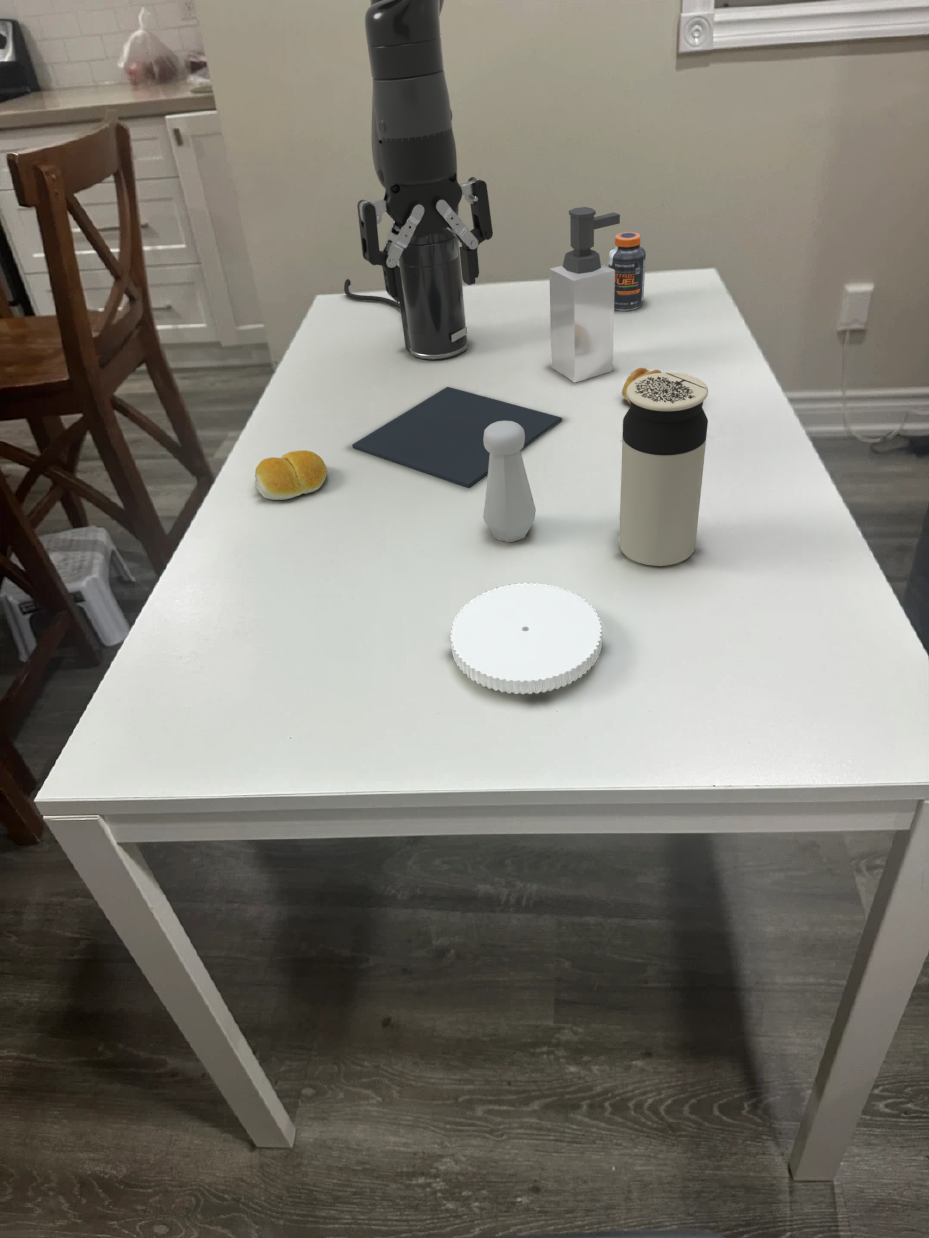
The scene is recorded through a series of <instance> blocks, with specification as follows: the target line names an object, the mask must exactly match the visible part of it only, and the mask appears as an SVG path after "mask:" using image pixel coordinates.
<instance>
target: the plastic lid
mask: <svg viewBox="0 0 929 1238" xmlns="http://www.w3.org/2000/svg"><path fill="white" fill-rule="evenodd" d="M593 607H594V606H593V605H592V604H590V602H589V601H586V599H585V598H583V597H581V595H577V593H576V592H572V590H570V589H569V590H567V589H566V588H561V586H555V585H553V584H551V585H549V584H548V583H545V584H543V583H542V582H541V583H540V582H539V583H536V582H533V583H530V582H526V583H524V582H520V583H514V584H507V585H501V587H498V586H497V587H496V588H495V589H493V588H492V589H490V590H489V591H485V592H484V593H480V594H479V595H478V596H474V598H473V599H470V600H469V602H466V603H465V605H463V606H462V607H461V609H459V611H458V613H456V614H455V617H454V618H453V621H452V622H451V626H450V630H449V633H450V634H449V637H450V639H449V640H450V647H451V653H452V658H453V659H454V662H455V663H456V666H457V667H459V670H460V671H462V674H464V675H466V677H467V678H468V679H469V678H470V679H471V681H473V682H476V684H478V685H479V684H481V686H482V687H487V689H489V690H491V689H493V691H495V692H497V691H500V693H505V692H506V693H507V694H511V693H513V694H514V695H518V694H521V695H525V694H527V695H532V694H533V693H535V694H539V693H540V692H541V693H546V692H548V691H549V692H552V691H553V690H554V689H555V690H558V689H560V687H562V688H564V687H566V685H570V684H572V682H577V681H578V679H581V678H582V677H583V675H586V674H588V673H587V671H590V670H591V667H594V666H595V663H596V662H597V660H598V658H600V654H601V649H602V646H603V645H602V644H603V625H602V621H601V618H600V616H599V614H598V612H597V611H596V609H595V608H593Z"/></svg>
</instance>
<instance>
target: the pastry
mask: <svg viewBox="0 0 929 1238" xmlns="http://www.w3.org/2000/svg"><path fill="white" fill-rule="evenodd" d="M655 373H663V372H662V371H661V370H659V369H653V370H649V369H647V367H639V368H636V369H634V370H632V372H631V373H630V375H628V377H627V378H626V380H625V382H624V384H623V387H622V389H621V395H622V397H624V399H625V400H626V402H628V404H630V400H629V398H628V397H627V393H626V391H627V387H628V386H629V384H630V383H631V382H633V381H634V380H636V379H638V378H640V377H642V376H645V375H649V374H655Z"/></svg>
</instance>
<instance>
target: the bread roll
mask: <svg viewBox="0 0 929 1238" xmlns="http://www.w3.org/2000/svg"><path fill="white" fill-rule="evenodd" d="M254 471H255V473H254V478H255V481H254V484H255V487H256V489H257V491H258V493H259V494H260V495H261V496H262V497H263V498H265V499H268V500H272V501H273V500H276V501H279V500H281V501H283V500H284V501H285V500H289V499H293V498H296V497H299V496H301V495H302V494H303V495H304V494H305V495H306V494H311V493H313V492H316V491H317V490H319V489H320V488H321V487H322V486H323V484H324V482H325V480H326V478H327V475H328V467H327V465H326V462H325V461H324V460H323V458H322V457H321V456H320V455H318V454H317V453H316V452H314V451H310V450H295V451H294V450H293V451H289V452H287V453H285V454H284V455H282V456H281V457H267V458H264V459H263V460H261V461H259V463H258V464H257V465H256V467H255V470H254Z"/></svg>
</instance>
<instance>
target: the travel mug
mask: <svg viewBox="0 0 929 1238" xmlns="http://www.w3.org/2000/svg"><path fill="white" fill-rule="evenodd" d="M626 393H627V397H628V398H629V400H630V403H629V408H628V409H627V412H626V413H625V415H624V416H623V419H622V436H621V437H622V438H621V439H622V441H621V472H620V498H619V499H620V500H619V501H620V503H619V532H618V534H619V535H618V547H619V549H620V551H621V552H622V554H623V555H624V556H626V557H627V558H628V559H630V560H632V561H634V562H636V563H638V564H642V565H647V566H654V567H663V566H665V567H666V566H671V565H675V564H679V563H682V562H684V561H686V560H687V559H688V558H690V557H691V556H692V555H693V554H694V552H695V549H696V545H697V537H698V536H697V535H698V524H699V514H700V507H701V505H700V503H701V495H702V485H703V475H704V465H705V456H706V444H707V437H708V436H707V435H708V427H709V425H708V424H709V420H708V417H707V414H706V413H705V411H704V408H703V406H704V401H705V400H706V399H707V397H708V396H709V388H708V386H707V384H706V383H705V382H704V381H703V380H701V379H700V378H698V377H696V376H693V375H689V374H686V373H682V372H662V373H655V374H649V375H645V376H642V377H640V378H638V379H636V380H634V381H633V382H631V383H630V384H629V386H628V387H627V391H626Z"/></svg>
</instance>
